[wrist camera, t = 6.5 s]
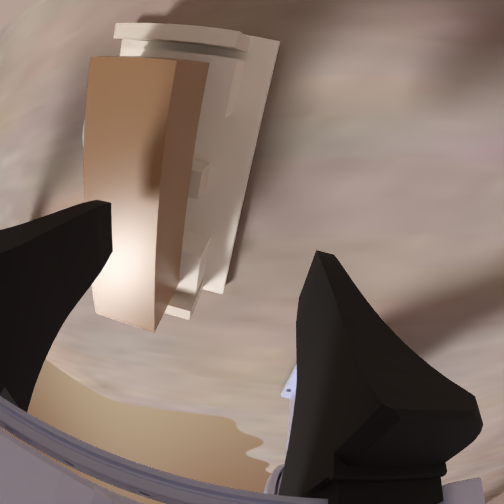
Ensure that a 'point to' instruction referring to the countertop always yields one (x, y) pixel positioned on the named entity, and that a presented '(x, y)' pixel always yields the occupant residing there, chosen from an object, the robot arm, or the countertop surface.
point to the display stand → (212, 141)
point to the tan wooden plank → (141, 176)
